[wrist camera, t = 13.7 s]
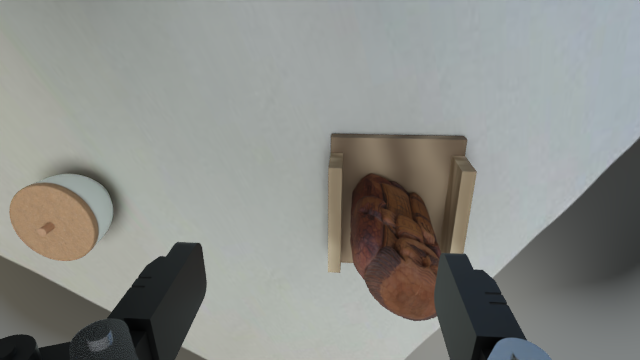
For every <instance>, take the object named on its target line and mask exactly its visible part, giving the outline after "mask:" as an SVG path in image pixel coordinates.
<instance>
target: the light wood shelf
mask: <svg viewBox="0 0 640 360" xmlns="http://www.w3.org/2000/svg"><path fill="white" fill-rule="evenodd" d="M466 145H467V139H466V138H465V137H464V136H431V135H376V134H332V135H331V156H330V162H329V168H328V272H337V273H340V266H341V262H343V263H353V258H352V250H351V244H350V237H351V235H350V232H351V228H350V221H351V203H352V192H353V190H354V189H355V188H356V186H357V185H358V183H359V182H360V181H361V180H362V179H363V178H364V177H365V176H367V175H368V174H371V173H372V174H375V175H379V176H381V177H383V178H385V179H387V180H388V181H395V182H397V183H398V184H400V185H401V186H402V187H403V188H404V189H405V190H406V191H407V192H408V193H410V194H411V193H416V194H418V195H419V196H420V197H421V199H422V200H423V201H424V203H425V206H426V208H427V210H428V213H429V217H430V220H431V224H432V227H433V230H434V233H435V236H436V239H437V243H438V244H439V247H440V250H441V253H458V254H463V252H464V245H465V239H466V233H467V227H468V221H469V215H470V209H471V203H472V197H473V191H474V185H475V179H476V173H477V172H476V170H475V169H474V168H473V166H472V165H471V164H470V162H469V161H468V159H467V158H466V157H465V152H466Z"/></svg>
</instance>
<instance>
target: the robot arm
mask: <svg viewBox="0 0 640 360" xmlns="http://www.w3.org/2000/svg"><path fill="white" fill-rule="evenodd" d="M206 284H207V282H206V273H205V266H204V259H203V252H202V247H201V244H200V243H186V242H177V243H175V245H174V246H173V247H172V249H171V250H170V252H169V253H168V255H167V256H166V257H163V256H160V257H158V258H157V259H155V260H154V261H152V262H151V263H150V264H148V265H147V266H146V267H145V268H144V270H143V271H142V272H141V274H140V275H139V276H138V279H136V280H135V282H134V283H133V284H132V287H131V288H129V290H128V291H127V292H126V294H125V295H124V296H123V298H122V299H121V300H120V302H119V303H118V304H117V306H116V307H115V308H114V310H113V311H112V312H111V314H110V315H109V317H108V318H107V319H103V320H99V321H96V322H94V323H91V324H90V325H88V326H86V327H84V328H83V329H81V330H80V331H79V332H78V333H77V334H76V335H75V336H74V338H73V339H72V341H71V342H67V343H62V344H57V345H52V346H46V347H41V348H38V346H37V343H36V341H35V339H34V338H33V337H31V336H29V335H22V334H21V335H13V336H9V337H5V338H3V339H0V360H175V358H176V356H177V354H178V352H179V350H180V347H181V346H182V343H183V341H184V339H185V337H186V335H187V333H188V331H189V329H190V327H191V324H192V322H193V320H194V318H195V316H196V314H197V312H198V310H199V308H200V305H201V303H202V301H203V299H204V296H205V293H206ZM434 303H435V310H436V313H437V317H438V320H439V323H440V327H441V330H442V333H443V337H444V340H445V344H446V347H447V351H448V354H449V357H450V360H552V359H551V358H550V357H549V355H548V354H547V353H546V352H545V351H544V350H542V349H541V348H539V347H538V346H537V345H535V344H533V343H531V342H529V341H527V339H526V338H525V336H524V334H523V332H522V330H521V328H520V326H519V325H518V323H517V321H516V319H515V317H514V315H513V313H512V312H511V310H510V308H509V306H508V305H507V302H506V300H505V299H504V297H503V295H501V291H500V289H499V287H498V286H497V284H496V282H495V280H494V279H492V278H491V277H490V276H489V275H488V274H487V273H486V272H484V271H483V270H474V269H473V267H472V265H471V263H470V261H469V259H468V257H467V255H466V254H458V253H441V255H440V259H439V265H438V271H437V277H436V284H435V290H434Z"/></svg>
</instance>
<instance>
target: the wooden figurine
mask: <svg viewBox="0 0 640 360" xmlns="http://www.w3.org/2000/svg"><path fill="white" fill-rule="evenodd" d="M350 228H351V232H350V235H351V237H350V244H351V250H352V258H353V263H354V265H355V267H356V269H357V271H358V272H359V274H360V275H361V276H362V277H363V279H364V280H365V282H366V284H367V287H368V288H369V291H370V293H371V294H372V296H374V298H375V299H376V300H377V301H378V302H379V303H380V304H381V305H382V306H383V307H385V308H386V309H387V310H390V312H393V313H394V314H396V315H398V316H401V317H403V318H406V319H409V320H413V321H421V320H428V319H431V318H434V317H436V316H437V313H436V310H435V303H434V290H435V284H436V277H437V271H438V265H439V259H440V255H441V250H440V247H439V244H438V243H437V239H436V236H435V233H434V230H433V227H432V224H431V220H430V217H429V213H428V210H427V208H426V206H425V203H424V201H423V200H422V199H421V197H420V196H419V195H418V194H416V193H411V194H410V193H408V192H407V191H406V190H405V189H404V188H403V187H402V186H401V185H400V184H398V183H397V182H395V181H388V180H387V179H385V178H383V177H381V176H379V175H375V174H372V173H371V174H368V175H367V176H365V177H364V178H363V179H362V180H361V181H360V182H359V183H358V185H357V186H356V188H355V189H354V190H353V192H352V203H351V221H350Z"/></svg>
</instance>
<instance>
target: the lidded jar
mask: <svg viewBox="0 0 640 360" xmlns="http://www.w3.org/2000/svg"><path fill="white" fill-rule="evenodd" d="M9 213H10V219H11V223H12V225H13V228H14V230H15V231H16V233H17V235H18V236H19V237H20V238H21V240H22V241H23V242H24V243H25V244H26V245H27V246H29V247H30V248H31V249H32V250H34V251H35V252H37V253H39V254H41V255H43V256H45V257H48V258H50V259H54V260H60V261H71V260H76V259H79V258H81V257H83V256H85V255H86V254H87V253H88V252H89V251H91V250H92V249H93V247H94V246H95V245H96V244H97V243H98V242H99V241H100V240H101V239H102V237H103V236H104V235H105V233H106V232H107V230H108V229H109V227H110V225H111V222H112V218H113V204H112V201H111V198H110V195H109V193H108V191H107V190H106V188H105V187H104V186H103V185H102V184H100V183H99V182H97V181H95V180H93V179H91V178H89V177H86V176H83V175H78V174H60V175H55V176H51V177H48V178H45V179H43V180H40V181H38V182H36V183H34V184H31V185H29V186H27V187H25V188H23V189H21V190H20V191H18V192H17V193H16V194H15V196H14V197H13V199H12V201H11V204H10V211H9Z"/></svg>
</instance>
